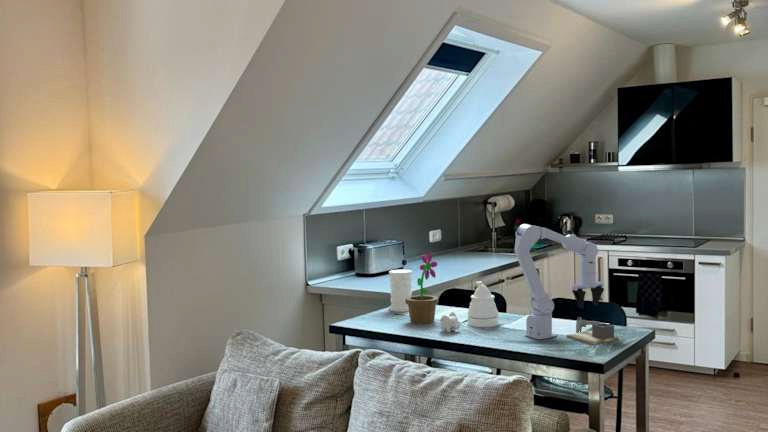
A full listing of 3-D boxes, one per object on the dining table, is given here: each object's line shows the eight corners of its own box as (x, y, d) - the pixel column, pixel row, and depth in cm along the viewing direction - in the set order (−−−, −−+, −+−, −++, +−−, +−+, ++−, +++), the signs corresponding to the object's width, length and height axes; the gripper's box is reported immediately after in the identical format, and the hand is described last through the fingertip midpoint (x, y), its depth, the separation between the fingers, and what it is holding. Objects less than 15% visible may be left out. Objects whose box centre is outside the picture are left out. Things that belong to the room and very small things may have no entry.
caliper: (578, 334, 290) (578, 318, 290) (576, 333, 291) (575, 317, 290) (600, 324, 306) (600, 309, 306) (598, 323, 307) (597, 308, 306)
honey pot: (484, 328, 303) (483, 285, 301) (461, 323, 312) (460, 281, 311) (504, 323, 311) (504, 281, 310) (481, 319, 321) (480, 278, 319)
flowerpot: (445, 321, 317) (444, 252, 315) (419, 326, 309) (417, 255, 307) (425, 316, 329) (423, 249, 326) (399, 321, 320) (397, 252, 318)
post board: (590, 344, 272) (590, 331, 272) (566, 337, 284) (566, 324, 283) (618, 339, 279) (618, 326, 278) (594, 332, 290) (593, 320, 290)
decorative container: (395, 312, 339) (394, 273, 337) (385, 308, 349) (384, 270, 348) (418, 310, 343) (417, 271, 342) (407, 305, 354) (406, 268, 353)
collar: (602, 339, 275) (602, 327, 275) (592, 336, 280) (592, 324, 280) (614, 337, 278) (614, 325, 278) (603, 334, 283) (603, 322, 282)
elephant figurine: (456, 334, 293) (456, 316, 293) (435, 332, 299) (435, 314, 298) (465, 330, 300) (465, 313, 299) (444, 328, 305) (444, 311, 305)
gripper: (581, 275, 282) (581, 310, 283) (609, 271, 288) (609, 306, 289) (568, 273, 288) (568, 307, 289) (596, 269, 295) (596, 303, 296)
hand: (588, 306), depth 289 cm, fingers open, 7 cm apart
